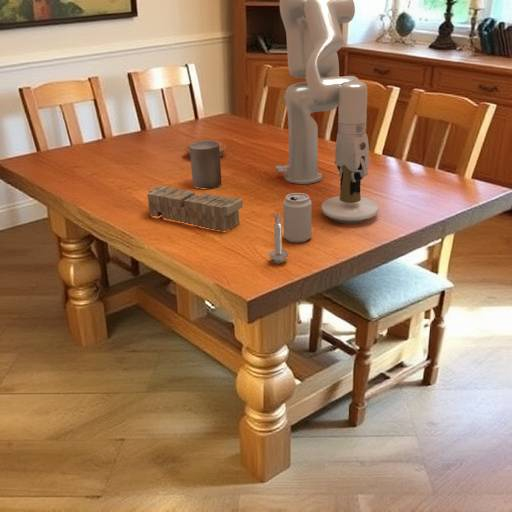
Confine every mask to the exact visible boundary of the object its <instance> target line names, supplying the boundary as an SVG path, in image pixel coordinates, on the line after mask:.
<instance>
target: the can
mask: <svg viewBox="0 0 512 512" xmlns="http://www.w3.org/2000/svg"><path fill="white" fill-rule="evenodd" d="M312 204H313V203H312V200H311V199H310V195H309V194H307V193H302V192H295V193H294V192H293V193H289V194H287V195H285V199H284V200H283V201H282V206H283V207H282V212H283V213H282V214H283V217H282V218H283V225H282V226H283V237H284V239H286V240H287V241H288V242H291V243H296V244H300V243H305V242H307V241H308V240H310V239H311V237H312V206H313V205H312Z"/></svg>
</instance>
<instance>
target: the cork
mask: <svg viewBox="0 0 512 512" xmlns="http://www.w3.org/2000/svg"><path fill="white" fill-rule="evenodd" d="M358 170H359V168H358ZM342 172H343V173H344V174H343V180H342V186H341V190H340V193H339V196H340V198H339V199H340V201H342V202H346V203H355V202H359V201H360V200H361V197H362V196H361V193H360V194H359V193H355V192H354V193H353V195H350V182H351V181H352V176H351V171H350V170H348V168H347V167H346V166H345V165H342ZM357 174H358V172H357V173H355V175H357Z"/></svg>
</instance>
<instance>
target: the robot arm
mask: <svg viewBox="0 0 512 512" xmlns="http://www.w3.org/2000/svg"><path fill="white" fill-rule="evenodd" d="M279 14H280V18H281V20H282V23H283V27H284V29H285V34H286V51H287V53H286V54H287V66H288V72H289V74H290V76H291V77H293V78H296V79H297V78H298V79H306V81H303V82H296V83H293V84H291V85H289V86H288V87H287V88H286V90H285V92H284V93H285V94H284V101H285V105H286V110H287V113H286V114H287V118H288V119H287V123H288V163H287V164H285V165H276V166H275V171H276V172H278V174H284V180H285V181H286V182H287V183H292V184H295V185H296V184H297V185H308V184H310V185H311V184H313V183H314V184H315V183H318V182H320V181H321V180H322V179H323V174H322V173H321V172H320V171H318V164H319V162H318V154H319V153H318V152H319V151H318V149H319V147H318V145H319V144H318V140H319V139H318V138H319V137H318V135H319V134H318V133H319V132H318V131H319V130H318V129H319V127H318V124H317V122H316V120H315V119H314V118H313V116H311V114H313V113H318V112H326V111H332V110H335V109H336V108H337V107H338V109H337V110H338V112H337V113H338V115H337V116H338V117H337V118H338V119H337V120H338V121H337V135H336V141H335V155H334V158H335V159H334V164H335V166H336V168H337V170H338V172H339V173H338V176H339V177H340V184H339V185H340V187H339V190H340V191H341V186H342V180H343V174H344V173H343V172H342V165H345V166H346V167H347V168H348V170H350V171H351V176H352V181H351V182H350V195H353V193H354V192H355V193H359V194H360V195H361V181H363V179H364V177H366V176H368V175H369V173H368V169H369V167H370V147H369V146H370V144H369V138H368V134H367V114H368V113H367V112H368V111H367V109H368V86H367V84H366V82H363V81H360V79H359V78H358V77H357V76H355V75H344V76H340V65H339V64H340V63H339V56H338V51H339V50H341V48H342V47H343V45H344V43H345V42H344V41H345V40H344V37H343V34H342V30H341V27H340V24H348V23H351V21H353V19H354V18H355V14H356V7H355V2H354V0H279ZM358 168H359V170H358ZM357 172H358V174H357V175H355V173H357Z"/></svg>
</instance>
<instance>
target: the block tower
mask: <svg viewBox="0 0 512 512" xmlns="http://www.w3.org/2000/svg"><path fill="white" fill-rule="evenodd" d="M147 202H148V210H149V216H150V215H152V216H157V217H158V216H160V215H162V217H161V219H162V218H166V219H171V220H175V221H180V222H184V223H188V224H193V225H197V226H201V227H205V228H209V229H214V230H220V231H227V230H228V229H230V228H232V227H233V228H235V227H236V226H238V225H239V224H240V223H241V222H240V214H239V213H240V212H239V210H241V209H243V208H244V207H243V206H244V205H243V204H244V203H243V202H244V201H243V199H242V198H238V197H226V196H223V195H222V196H220V195H216V194H211V193H207V192H204V193H202V194H200V195H196V193H195V191H193V190H187V189H185V190H184V189H179V188H175V187H171V186H163V185H157V186H155V187H154V188H151V189H149V190H148V193H147ZM237 224H238V225H237ZM234 226H235V227H234ZM233 228H232V229H233ZM209 229H208V230H209ZM214 230H213V231H214ZM230 230H231V229H230ZM227 232H228V231H227Z"/></svg>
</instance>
